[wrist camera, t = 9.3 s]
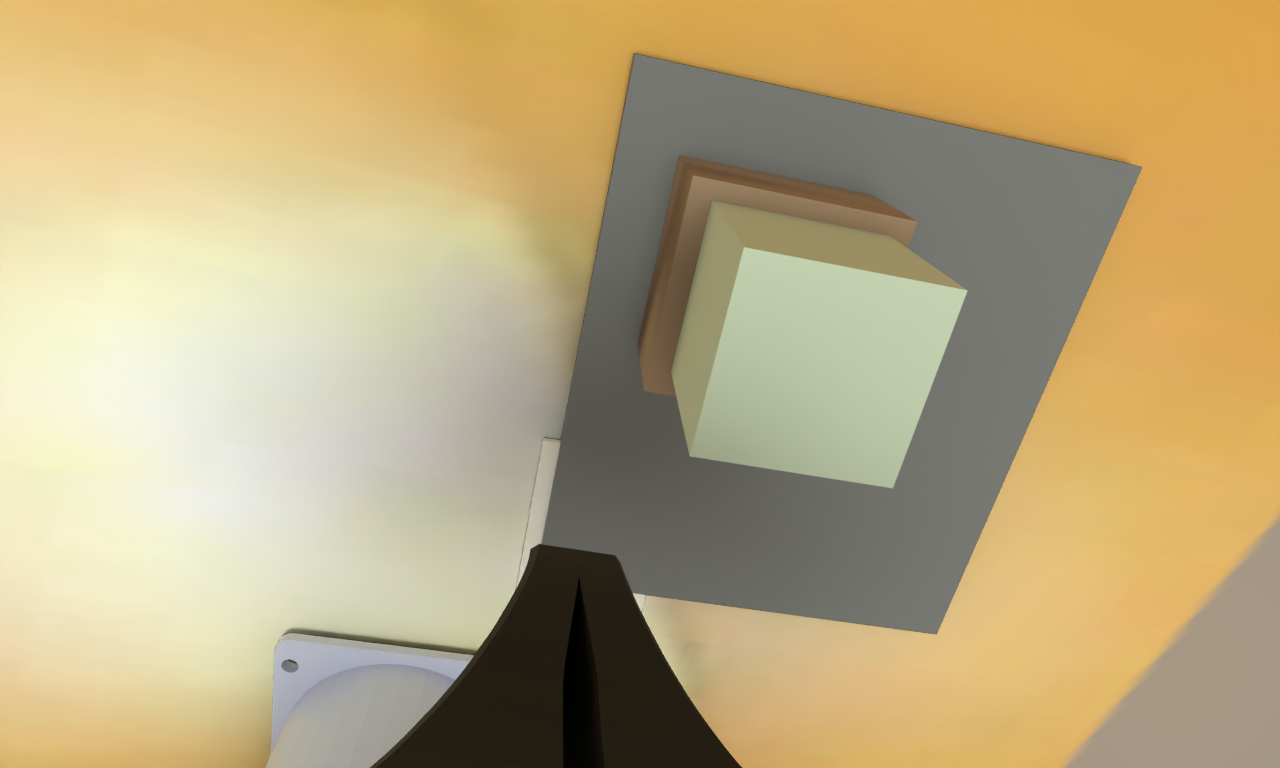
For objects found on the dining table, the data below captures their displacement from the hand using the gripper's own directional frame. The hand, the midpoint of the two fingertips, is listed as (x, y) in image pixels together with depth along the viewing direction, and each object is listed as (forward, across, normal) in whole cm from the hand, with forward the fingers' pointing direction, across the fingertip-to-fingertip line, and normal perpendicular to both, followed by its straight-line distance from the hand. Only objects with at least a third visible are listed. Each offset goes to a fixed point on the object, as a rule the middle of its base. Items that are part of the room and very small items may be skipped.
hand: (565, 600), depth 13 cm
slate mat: (+10, -6, 0) cm, 12 cm away
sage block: (+7, -4, -4) cm, 9 cm away
